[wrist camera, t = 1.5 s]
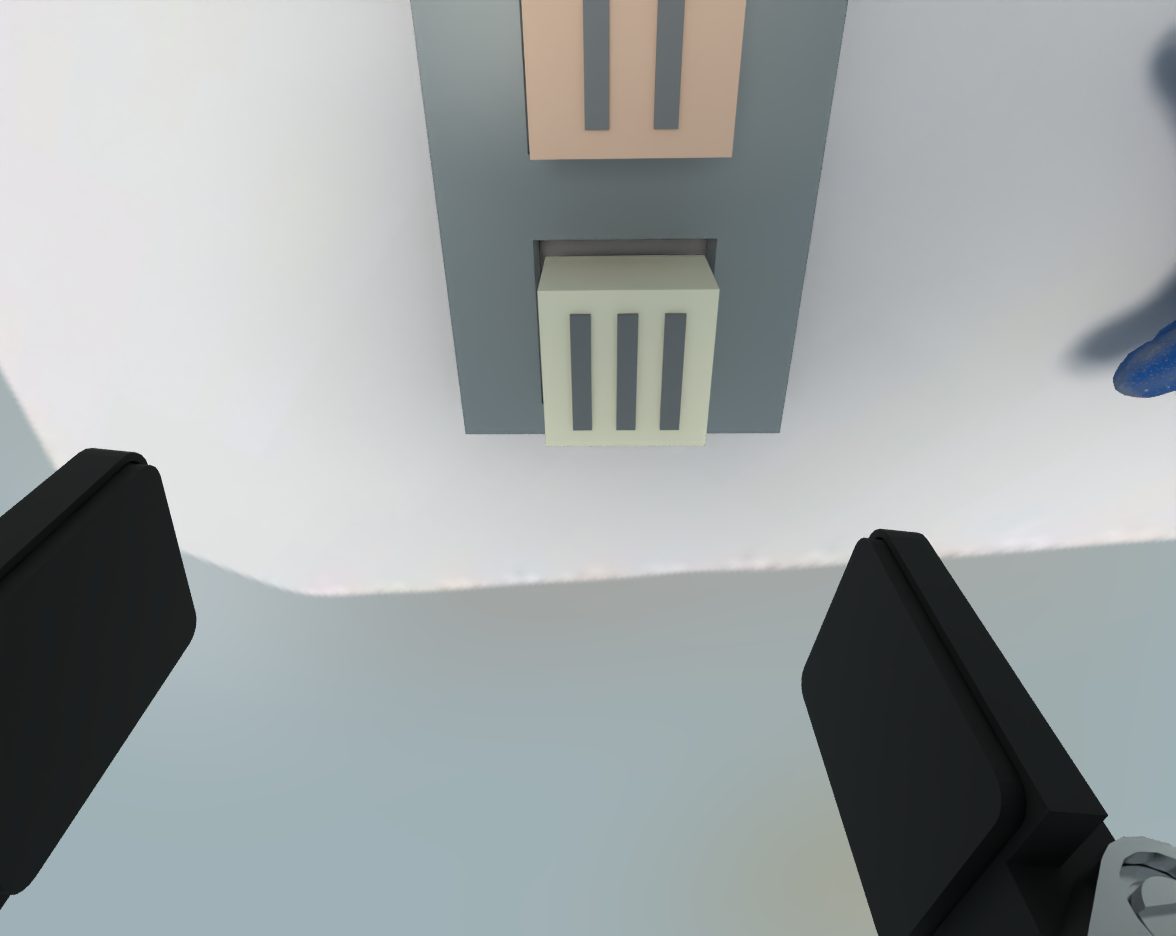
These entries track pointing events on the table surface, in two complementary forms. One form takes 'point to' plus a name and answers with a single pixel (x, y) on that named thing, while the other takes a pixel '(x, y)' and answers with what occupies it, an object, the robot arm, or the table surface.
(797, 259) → the board
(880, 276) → the table surface
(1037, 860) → the robot arm
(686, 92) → the tile two
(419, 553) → the table surface
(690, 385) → the tile three
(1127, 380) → the starfish
